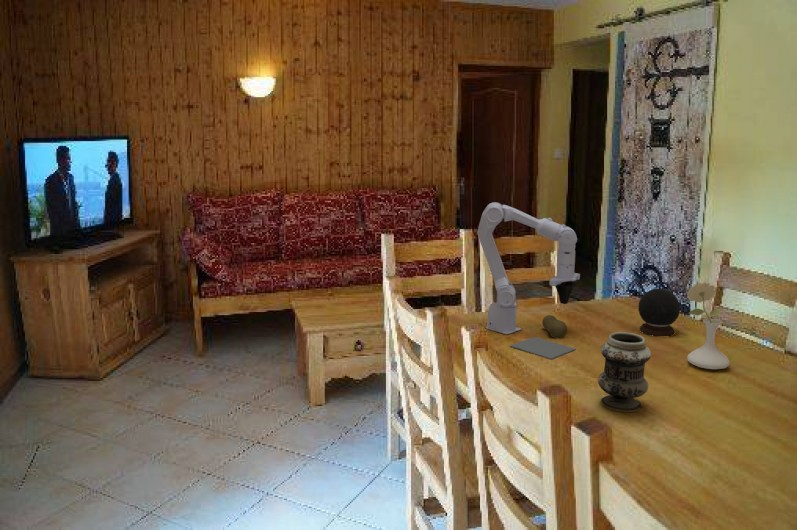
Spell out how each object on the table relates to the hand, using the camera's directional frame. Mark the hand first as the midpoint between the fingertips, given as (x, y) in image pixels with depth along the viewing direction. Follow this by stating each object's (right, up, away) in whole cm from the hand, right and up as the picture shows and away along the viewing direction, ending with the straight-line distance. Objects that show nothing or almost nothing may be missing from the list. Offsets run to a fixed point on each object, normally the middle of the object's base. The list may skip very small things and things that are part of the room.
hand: (563, 303), depth 221 cm
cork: (-3, -9, -4) cm, 10 cm away
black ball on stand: (+33, -10, +3) cm, 34 cm away
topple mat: (-10, -14, -13) cm, 21 cm away
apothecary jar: (+1, -23, -55) cm, 59 cm away
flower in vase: (+34, -17, -28) cm, 47 cm away
